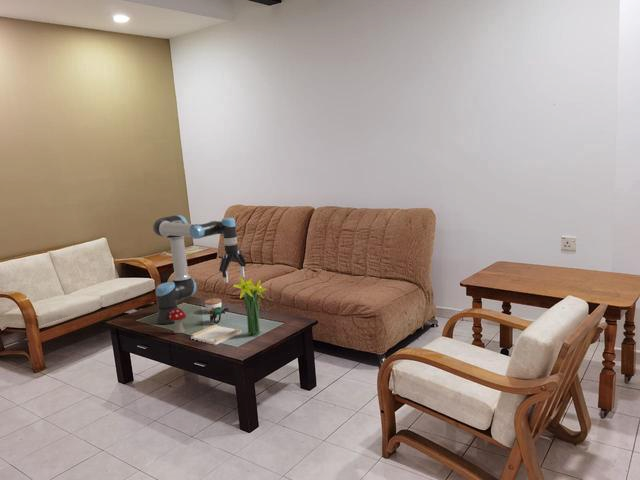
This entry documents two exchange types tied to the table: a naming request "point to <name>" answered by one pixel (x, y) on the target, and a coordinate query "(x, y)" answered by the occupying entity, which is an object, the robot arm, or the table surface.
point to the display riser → (215, 334)
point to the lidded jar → (212, 303)
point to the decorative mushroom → (177, 320)
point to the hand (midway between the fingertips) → (234, 279)
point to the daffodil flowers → (249, 289)
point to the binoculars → (217, 313)
